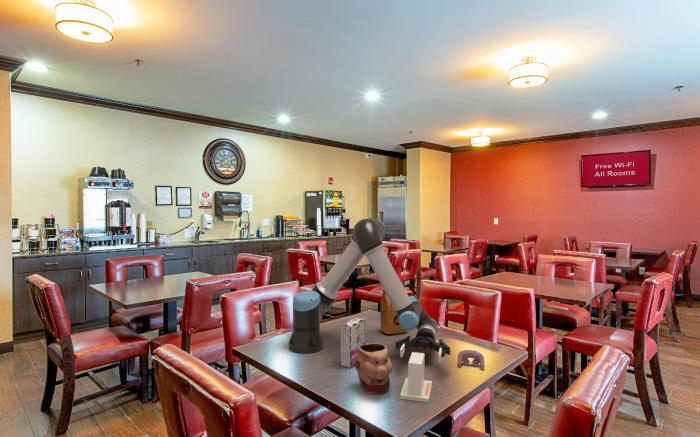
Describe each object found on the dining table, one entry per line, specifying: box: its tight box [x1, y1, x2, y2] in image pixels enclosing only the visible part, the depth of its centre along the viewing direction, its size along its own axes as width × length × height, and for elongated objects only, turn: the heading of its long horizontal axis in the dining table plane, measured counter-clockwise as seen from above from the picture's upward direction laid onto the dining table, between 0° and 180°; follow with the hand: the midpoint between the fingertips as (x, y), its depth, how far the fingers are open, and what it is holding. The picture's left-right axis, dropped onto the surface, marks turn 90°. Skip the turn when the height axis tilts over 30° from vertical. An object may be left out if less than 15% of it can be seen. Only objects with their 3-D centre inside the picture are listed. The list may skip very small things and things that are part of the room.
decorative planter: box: [354, 342, 394, 395], centre depth 133 cm, size 20×12×14 cm, turn 23°
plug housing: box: [407, 351, 426, 395], centre depth 130 cm, size 10×4×10 cm, turn 163°
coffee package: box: [379, 289, 408, 335], centre depth 190 cm, size 10×12×22 cm
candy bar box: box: [339, 316, 366, 369], centre depth 153 cm, size 11×5×16 cm, turn 148°
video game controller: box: [457, 349, 485, 371], centre depth 150 cm, size 10×5×7 cm, turn 73°
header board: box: [399, 377, 433, 403], centre depth 130 cm, size 9×13×6 cm
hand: (420, 355), depth 139 cm, fingers open, 13 cm apart
